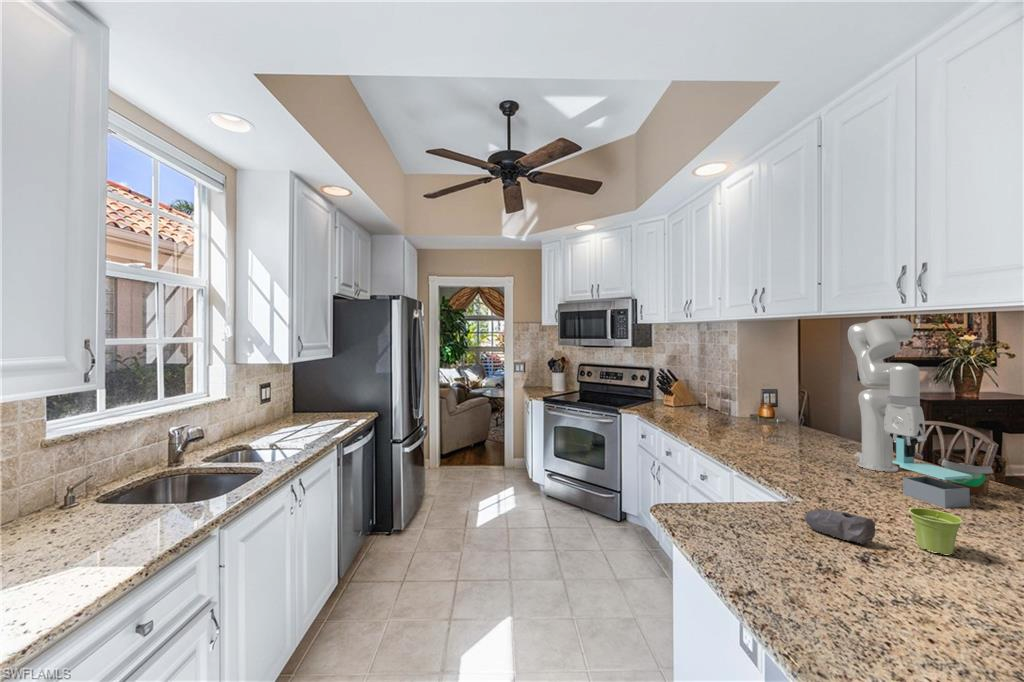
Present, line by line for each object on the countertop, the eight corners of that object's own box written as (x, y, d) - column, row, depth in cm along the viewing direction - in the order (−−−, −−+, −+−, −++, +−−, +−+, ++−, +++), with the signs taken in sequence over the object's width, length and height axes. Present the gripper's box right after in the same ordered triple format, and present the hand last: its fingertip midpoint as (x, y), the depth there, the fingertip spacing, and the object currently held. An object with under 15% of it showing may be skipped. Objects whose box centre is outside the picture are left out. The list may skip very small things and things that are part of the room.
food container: (934, 488, 147) (934, 459, 147) (943, 485, 150) (942, 457, 150) (985, 500, 136) (985, 469, 136) (993, 497, 139) (993, 466, 139)
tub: (903, 495, 141) (902, 477, 141) (926, 494, 142) (925, 476, 142) (945, 510, 129) (944, 490, 129) (969, 507, 130) (969, 488, 130)
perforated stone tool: (801, 530, 116) (800, 504, 116) (808, 525, 120) (808, 500, 120) (870, 551, 104) (870, 523, 104) (877, 545, 107) (876, 517, 107)
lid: (886, 463, 146) (885, 437, 146) (910, 461, 147) (910, 436, 147) (944, 480, 129) (944, 450, 128) (972, 477, 130) (972, 449, 130)
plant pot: (922, 538, 111) (921, 505, 111) (971, 555, 102) (971, 519, 102) (900, 545, 107) (900, 510, 107) (949, 563, 98) (949, 525, 98)
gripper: (871, 398, 152) (872, 449, 152) (921, 405, 136) (921, 462, 136) (889, 397, 153) (890, 448, 153) (940, 404, 137) (941, 461, 137)
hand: (904, 454), depth 144 cm, fingers closed on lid
